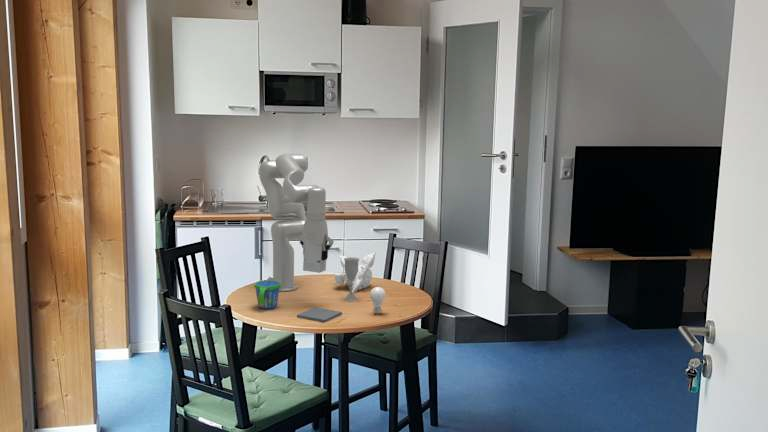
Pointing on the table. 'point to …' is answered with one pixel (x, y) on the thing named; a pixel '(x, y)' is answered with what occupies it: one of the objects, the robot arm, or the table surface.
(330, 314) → the charcoal mat
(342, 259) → the white bumpy sculpture
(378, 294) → the lightbulb
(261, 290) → the snack cup
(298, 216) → the robot arm
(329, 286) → the table surface
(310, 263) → the skincare box
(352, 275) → the chalice
